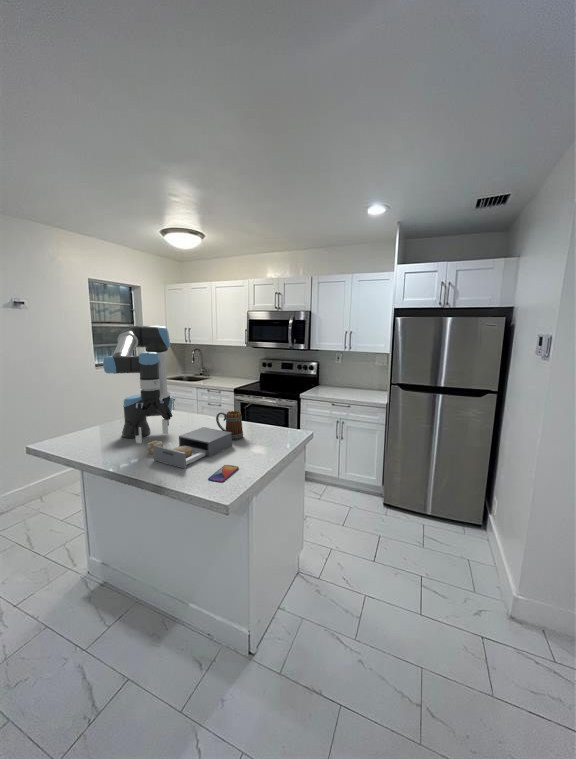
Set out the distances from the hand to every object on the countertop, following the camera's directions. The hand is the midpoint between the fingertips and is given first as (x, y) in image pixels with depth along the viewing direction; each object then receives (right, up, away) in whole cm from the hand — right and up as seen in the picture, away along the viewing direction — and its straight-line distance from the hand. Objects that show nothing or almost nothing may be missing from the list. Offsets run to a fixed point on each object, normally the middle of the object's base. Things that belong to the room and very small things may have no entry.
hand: (152, 438), depth 136 cm
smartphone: (+30, -16, +1) cm, 34 cm away
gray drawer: (+7, -13, +17) cm, 22 cm away
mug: (+24, -9, +49) cm, 55 cm away
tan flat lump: (+7, -11, +16) cm, 21 cm away
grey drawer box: (+15, -11, +31) cm, 36 cm away
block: (-9, -12, +25) cm, 29 cm away
